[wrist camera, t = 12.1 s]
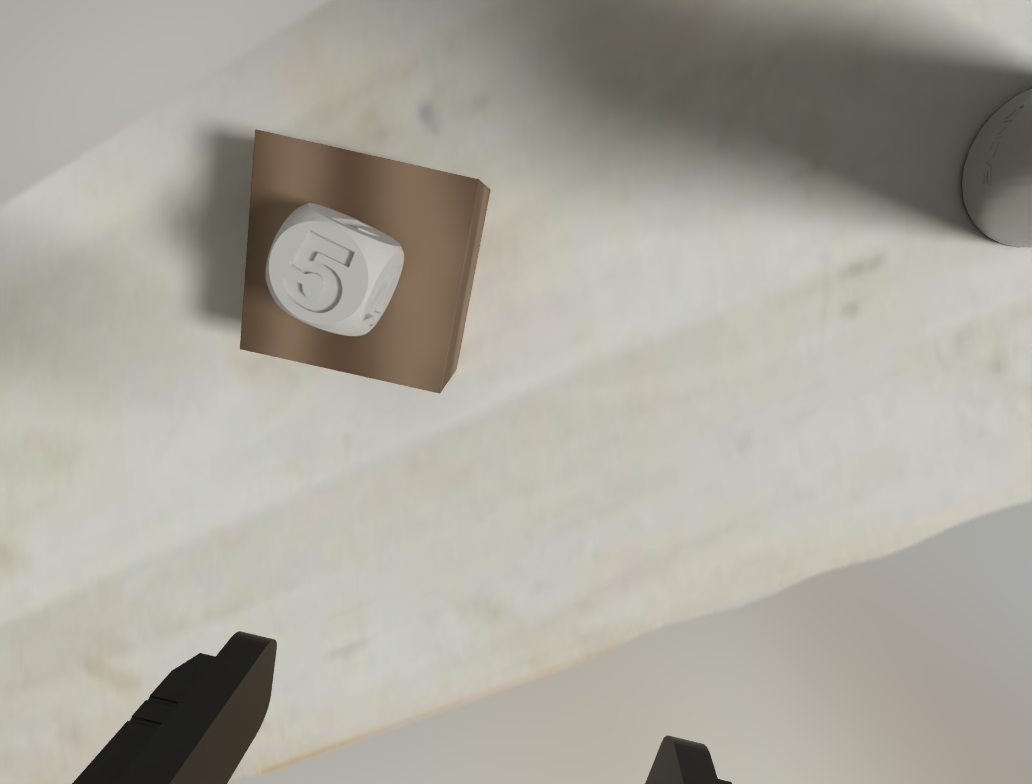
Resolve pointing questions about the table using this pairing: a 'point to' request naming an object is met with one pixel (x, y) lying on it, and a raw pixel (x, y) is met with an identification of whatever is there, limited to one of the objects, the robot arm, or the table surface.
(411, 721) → the table surface
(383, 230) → the pedestal
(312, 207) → the die
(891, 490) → the table surface
